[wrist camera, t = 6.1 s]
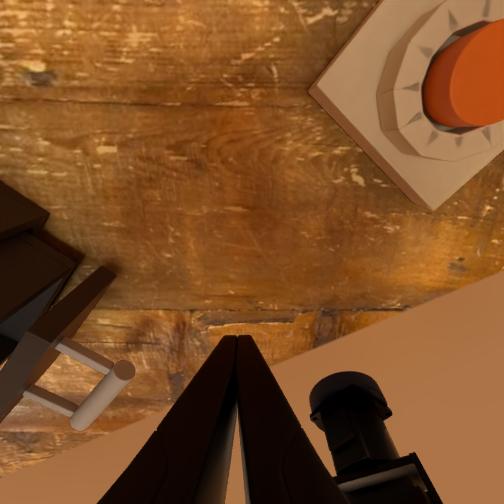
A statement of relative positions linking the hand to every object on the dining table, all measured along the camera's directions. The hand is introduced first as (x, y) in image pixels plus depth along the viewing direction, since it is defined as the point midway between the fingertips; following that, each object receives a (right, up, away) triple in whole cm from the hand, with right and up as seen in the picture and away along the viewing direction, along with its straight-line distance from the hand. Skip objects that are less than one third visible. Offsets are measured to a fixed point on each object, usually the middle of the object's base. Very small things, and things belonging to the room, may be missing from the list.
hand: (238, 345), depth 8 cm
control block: (+10, +12, +7) cm, 17 cm away
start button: (+10, +10, +4) cm, 15 cm away
